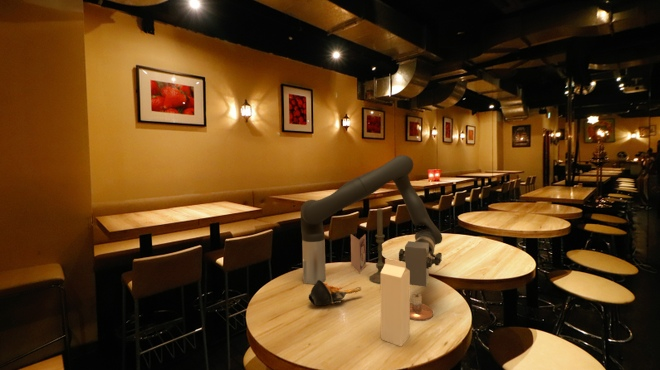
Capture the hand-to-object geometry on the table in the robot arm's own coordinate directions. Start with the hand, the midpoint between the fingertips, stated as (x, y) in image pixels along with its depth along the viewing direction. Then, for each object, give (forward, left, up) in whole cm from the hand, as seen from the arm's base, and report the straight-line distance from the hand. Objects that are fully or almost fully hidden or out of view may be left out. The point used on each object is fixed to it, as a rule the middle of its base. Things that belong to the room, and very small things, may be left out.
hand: (416, 264), depth 93 cm
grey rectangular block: (+1, +2, -6) cm, 7 cm away
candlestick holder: (-3, +30, -17) cm, 35 cm away
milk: (-10, -10, -17) cm, 22 cm away
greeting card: (-10, +44, -17) cm, 48 cm away
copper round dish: (+1, +2, -17) cm, 17 cm away
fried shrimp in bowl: (-24, +13, -17) cm, 32 cm away
